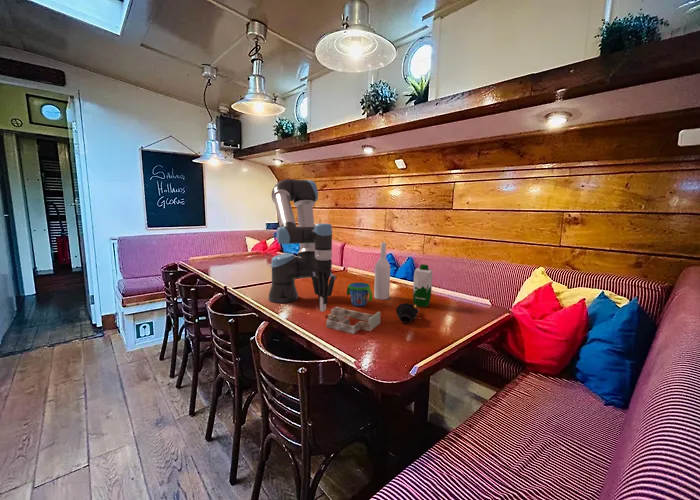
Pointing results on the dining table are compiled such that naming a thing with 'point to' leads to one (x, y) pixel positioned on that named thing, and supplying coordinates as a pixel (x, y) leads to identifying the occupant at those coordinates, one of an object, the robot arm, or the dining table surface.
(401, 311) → the fried shrimp in bowl
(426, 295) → the milk carton
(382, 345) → the dining table surface
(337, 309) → the cream block
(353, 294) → the snack cup
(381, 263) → the bottle
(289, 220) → the robot arm
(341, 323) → the box
